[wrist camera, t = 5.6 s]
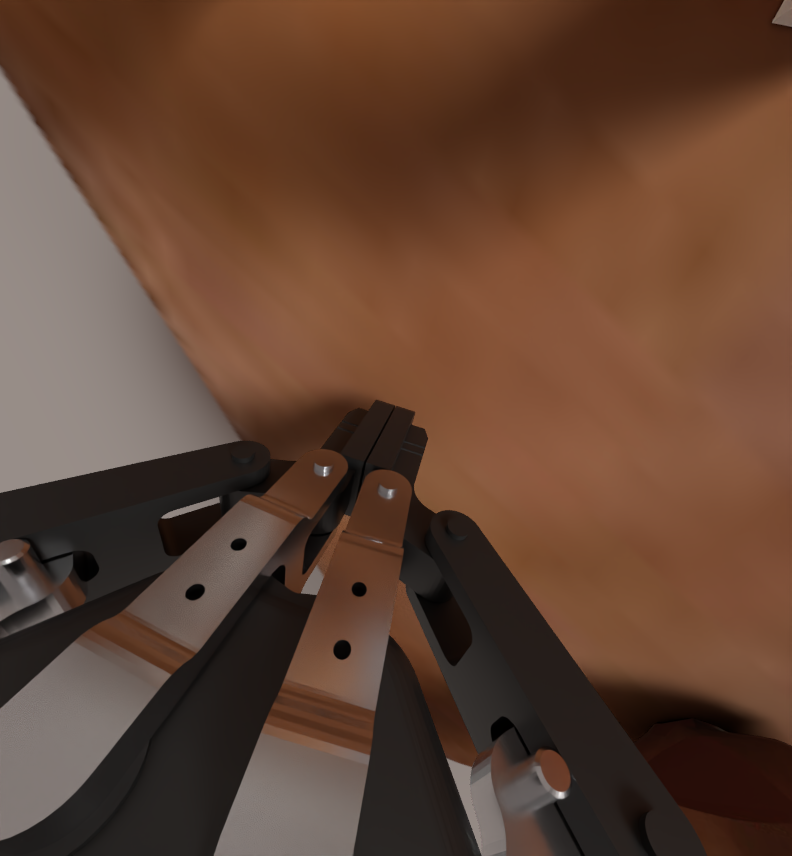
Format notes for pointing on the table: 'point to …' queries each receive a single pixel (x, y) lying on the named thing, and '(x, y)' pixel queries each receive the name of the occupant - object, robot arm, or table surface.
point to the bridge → (784, 14)
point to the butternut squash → (725, 785)
